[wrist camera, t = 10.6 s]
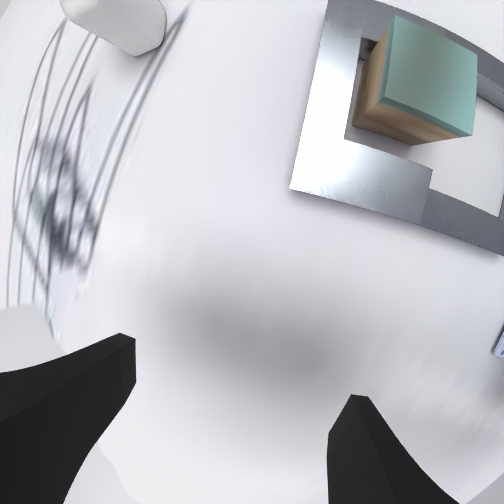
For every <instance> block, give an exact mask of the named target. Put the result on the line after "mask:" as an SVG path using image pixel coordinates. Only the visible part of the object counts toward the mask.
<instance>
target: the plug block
mask: <svg viewBox="0 0 504 504" xmlns="http://www.w3.org/2000/svg"><path fill="white" fill-rule="evenodd" d="M476 89H477V54H475V53H473V52H472V51H470V50H468V49H466V48H465V47H463V46H461V45H459V44H457V43H456V42H454V41H452V40H450V39H448V38H446V37H444V36H442V35H440V34H438V33H436V32H434V31H432V30H429V29H427V28H425V27H423V26H420V25H418V24H416V23H413V22H411V21H409V20H406V19H404V18H401V17H398V16H396V15H395V16H394V17H393V19H392V21H391V22H390V24H389V25H388V27H387V28H386V30H385V32H384V33H383V35H382V36H381V38H380V40H379V41H378V43H377V44H376V46H375V47H374V49H373V51H372V52H371V54H370V55H369V57H368V59H367V60H366V62H365V63H364V65H363V67H362V72H361V78H360V83H359V89H358V94H357V99H356V104H355V109H354V114H353V119H352V124H351V125H354V126H357V127H360V128H363V129H366V130H370V131H373V132H376V133H379V134H381V135H384V136H387V137H390V138H393V139H396V140H398V141H401V142H404V143H406V144H409V145H411V146H413V145H419V144H424V143H430V142H435V141H441V140H447V139H453V138H459V137H466V136H472V132H473V124H474V115H475V104H476Z"/></svg>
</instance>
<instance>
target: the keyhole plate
mask: <svg viewBox="0 0 504 504" xmlns="http://www.w3.org/2000/svg"><path fill="white" fill-rule="evenodd" d="M395 15H396V16H398V17H401V18H404V19H406V20H409V21H411V22H413V23H416V24H418V25H420V26H423V27H425V28H427V29H429V30H432V31H434V32H436V33H438V34H440V35H442V36H444V37H446V38H448V39H450V40H452V41H454V42H456V43H457V44H459V45H461V46H463V47H465V48H466V49H468V50H470V51H472V52H473V53H475V54H477V89H476V95H478V96H480V97H482V98H483V99H485V100H487V101H488V102H490V103H492V104H493V105H495V106H496V107H498V108H499V109H501V110H503V111H504V63H503V62H501V61H500V60H498V59H497V58H495V57H494V56H492V55H491V54H489V53H488V52H486V51H484V50H483V49H481V48H479V47H478V46H476V45H474V44H473V43H471V42H469V41H467V40H466V39H464V38H462V37H460V36H458V35H457V34H455V33H453V32H451V31H449V30H447V29H445V28H443V27H441V26H439V25H437V24H434V23H432V22H430V21H428V20H426V19H423V18H421V17H419V16H416V15H414V14H411V13H409V12H406V11H404V10H401V9H399V8H396V7H393V6H390V5H387V4H384V3H381V2H378V1H375V0H328V5H327V10H326V15H325V21H324V26H323V31H322V37H321V42H320V47H319V52H318V57H317V62H316V67H315V72H314V77H313V82H312V87H311V92H310V96H309V101H308V106H307V111H306V115H305V120H304V125H303V129H302V134H301V139H300V143H299V148H298V152H297V157H296V161H295V166H294V170H293V175H292V179H291V184H290V189H294V190H298V191H302V192H306V193H310V194H314V195H318V196H322V197H326V198H329V199H333V200H337V201H341V202H344V203H348V204H351V205H355V206H359V207H362V208H366V209H369V210H372V211H376V212H379V213H383V214H386V215H389V216H392V217H396V218H399V219H402V220H405V221H408V222H411V223H414V224H418V225H421V226H424V227H427V228H430V229H433V230H435V231H438V232H441V233H444V234H447V235H450V236H453V237H455V238H458V239H461V240H464V241H466V242H469V243H472V244H474V245H477V246H480V247H482V248H485V249H487V250H490V251H492V252H495V253H497V254H500V255H502V256H504V197H503V202H502V206H501V211H500V215H499V218H498V217H496V216H494V215H491V214H489V213H487V212H485V211H483V210H481V209H478V208H476V207H474V206H472V205H469V204H467V203H465V202H462V201H460V200H458V199H455V198H453V197H450V196H448V195H446V194H443V193H440V192H438V191H435V190H433V189H430V188H429V185H430V180H431V176H432V171H433V169H430V168H428V167H425V166H423V165H420V164H417V163H415V162H412V161H409V160H406V159H404V158H401V157H398V156H395V155H392V154H389V153H386V152H383V151H380V150H377V149H374V148H371V147H368V146H365V145H361V144H358V143H355V142H351V141H348V140H344V139H343V137H344V133H345V128H346V123H347V118H348V113H349V107H350V102H351V97H352V91H353V85H354V80H355V74H356V68H357V61H358V58H360V59H364V60H367V59H368V57H369V55H370V54H371V52H372V51H373V49H374V47H375V46H376V44H377V43H378V41H379V40H380V38H381V36H382V35H383V33H384V32H385V30H386V28H387V27H388V25H389V24H390V22H391V21H392V19H393V17H394V16H395Z"/></svg>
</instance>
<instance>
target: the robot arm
mask: <svg viewBox="0 0 504 504" xmlns="http://www.w3.org/2000/svg"><path fill="white" fill-rule="evenodd" d="M494 355H495V356H496V357H502V358H504V332H503V334H502V336H501V338H500V340H499V342H498V344H497V346H496V348H495V350H494ZM135 384H136V353H135V338H132V337H130V336H127V335H124V334H122V333H118V334H116V335H113V336H111V337H108V338H106V339H104V340H101V341H99V342H97V343H94V344H92V345H90V346H87V347H85V348H83V349H80V350H78V351H75V352H73V353H71V354H68V355H65V356H62V357H60V358H57V359H54V360H51V361H48V362H45V363H42V364H39V365H36V366H32V367H28V368H24V369H20V370H15V371H10V372H2V373H0V504H63V503H64V500H65V498H66V496H67V493H68V491H69V489H70V487H71V485H72V483H73V481H74V479H75V477H76V475H77V473H78V471H79V469H80V467H81V466H82V464H83V462H84V460H85V458H86V456H87V455H88V453H89V452H90V450H91V449H92V447H93V446H94V444H95V443H96V442H97V440H98V439H99V438H100V436H101V435H102V434H103V432H104V431H105V430H106V428H107V427H108V426H109V424H110V423H111V422H112V420H113V419H114V418H115V416H116V415H117V414H118V412H119V411H120V410H121V408H122V407H123V405H124V404H125V402H126V400H127V399H128V397H129V395H130V393H131V391H132V389H133V387H134V386H135ZM327 476H328V499H329V504H459V503H458V502H457V501H455V500H454V499H453V498H452V497H450V496H449V495H448V494H447V493H445V492H444V491H443V490H442V489H441V488H440V487H439V486H438V485H437V484H436V483H435V482H434V481H433V480H432V479H431V478H430V477H429V476H428V475H427V474H426V473H425V472H424V471H423V470H422V469H421V468H420V467H419V465H418V464H417V463H416V462H415V461H414V459H413V458H412V457H411V456H410V455H409V453H408V452H407V451H406V449H405V448H404V447H403V445H402V444H401V443H400V441H399V440H398V439H397V437H396V436H395V435H394V433H393V432H392V430H391V429H390V427H389V426H388V424H387V423H386V422H385V420H384V419H383V417H382V416H381V414H380V413H379V411H378V410H377V408H376V407H375V406H374V404H373V403H372V401H371V400H370V399H369V397H367V396H359V395H352V394H351V396H350V398H349V399H348V401H347V403H346V405H345V406H344V408H343V410H342V412H341V413H340V415H339V417H338V418H337V420H336V422H335V423H334V425H333V427H332V428H331V430H330V431H329V435H328V447H327Z"/></svg>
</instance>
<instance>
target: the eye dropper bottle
mask: <svg viewBox="0 0 504 504" xmlns="http://www.w3.org/2000/svg"><path fill="white" fill-rule="evenodd" d="M59 2H60V5H61V8H62V10H63V12H64V14H65V15H66V16H67V18H68V19H69V20H70V21H72V22H73V23H74V24H76V25H78V26H80V27H82V28H84V29H85V30H87V31H89V32H91V33H93V34H95V35H97V36H99V37H100V38H102V39H104V40H106V41H108V42H109V43H111V44H113V45H115V46H117V47H118V48H120V49H122V50H124V51H125V52H127V53H129V54H131V55H133V56H138V55H141V54H143V53H146V52H148V51H150V50H152V49H155V48H156V47H158V46H159V45H160V44H161V42H162V40H163V37H164V33H165V26H166V16H165V11H164V8H163V6H162V4H161V2H160V1H159V0H59Z"/></svg>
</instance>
